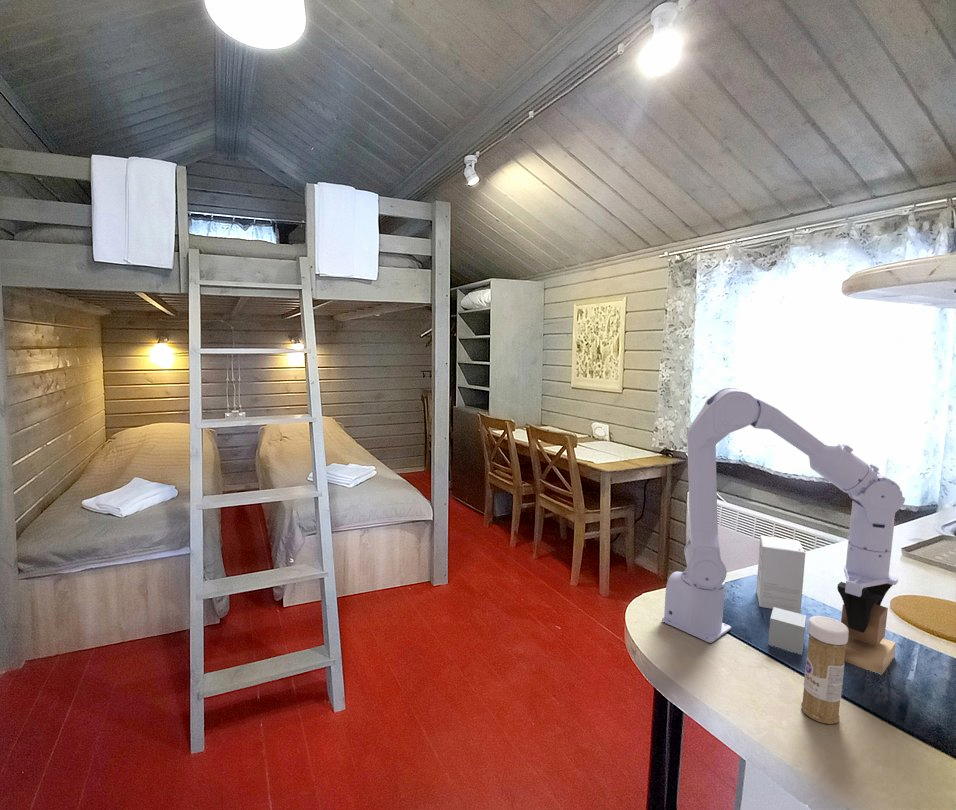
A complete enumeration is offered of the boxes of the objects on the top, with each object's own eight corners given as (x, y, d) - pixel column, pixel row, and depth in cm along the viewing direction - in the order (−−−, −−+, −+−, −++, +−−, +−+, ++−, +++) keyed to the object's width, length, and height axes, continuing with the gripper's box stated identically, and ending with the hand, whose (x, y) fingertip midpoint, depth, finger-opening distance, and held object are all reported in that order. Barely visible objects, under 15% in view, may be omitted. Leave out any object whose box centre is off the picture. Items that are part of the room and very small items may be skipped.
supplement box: (795, 599, 106) (800, 540, 105) (801, 615, 100) (806, 552, 99) (755, 591, 110) (759, 534, 108) (757, 607, 103) (762, 545, 102)
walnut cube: (839, 633, 86) (842, 604, 86) (848, 624, 90) (851, 596, 89) (876, 646, 83) (879, 616, 82) (884, 636, 86) (887, 607, 85)
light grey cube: (768, 645, 89) (770, 618, 89) (771, 633, 93) (773, 606, 93) (802, 655, 86) (804, 627, 86) (803, 642, 90) (806, 615, 90)
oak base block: (823, 655, 87) (824, 638, 87) (837, 638, 92) (839, 622, 92) (881, 678, 81) (883, 660, 81) (893, 659, 86) (895, 642, 86)
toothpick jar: (793, 704, 74) (801, 614, 73) (822, 702, 74) (831, 613, 73) (817, 727, 69) (825, 632, 68) (848, 725, 70) (857, 631, 69)
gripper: (888, 564, 77) (879, 650, 78) (910, 543, 86) (902, 620, 88) (833, 550, 83) (825, 630, 84) (860, 531, 92) (852, 604, 93)
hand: (861, 624), depth 86 cm, fingers closed on walnut cube, 5 cm apart
